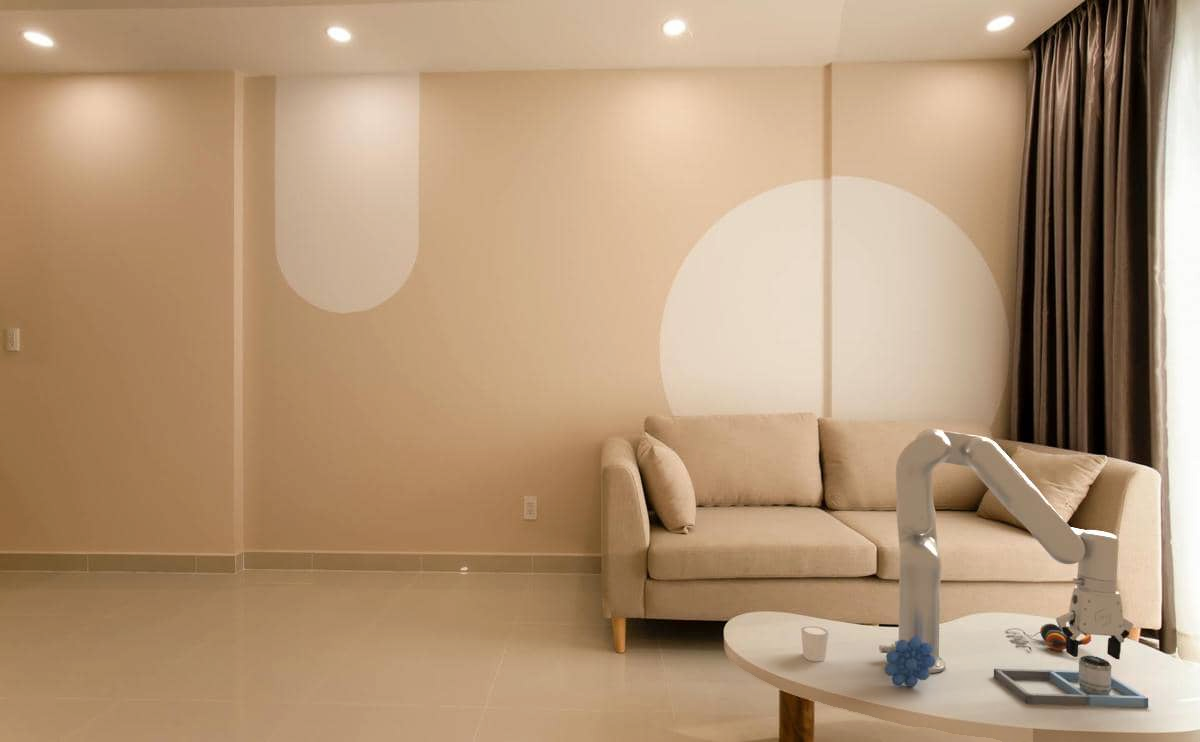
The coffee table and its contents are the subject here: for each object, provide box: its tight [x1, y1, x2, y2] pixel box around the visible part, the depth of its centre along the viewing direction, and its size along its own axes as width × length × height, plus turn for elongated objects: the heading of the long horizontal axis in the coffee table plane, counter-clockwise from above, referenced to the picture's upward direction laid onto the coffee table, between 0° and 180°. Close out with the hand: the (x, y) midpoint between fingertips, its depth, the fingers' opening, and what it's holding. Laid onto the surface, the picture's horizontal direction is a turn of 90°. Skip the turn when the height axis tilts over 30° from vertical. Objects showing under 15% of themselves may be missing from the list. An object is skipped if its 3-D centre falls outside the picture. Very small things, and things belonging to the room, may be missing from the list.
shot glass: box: [800, 625, 830, 662], centre depth 182 cm, size 7×7×7 cm
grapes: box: [884, 637, 935, 688], centre depth 167 cm, size 12×7×12 cm, turn 87°
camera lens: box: [1078, 655, 1112, 695], centre depth 165 cm, size 6×6×8 cm
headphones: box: [1005, 623, 1092, 652], centre depth 193 cm, size 17×5×20 cm
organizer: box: [993, 668, 1149, 708], centre depth 165 cm, size 27×14×2 cm, turn 89°
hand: (1092, 655), depth 165 cm, fingers open, 9 cm apart
